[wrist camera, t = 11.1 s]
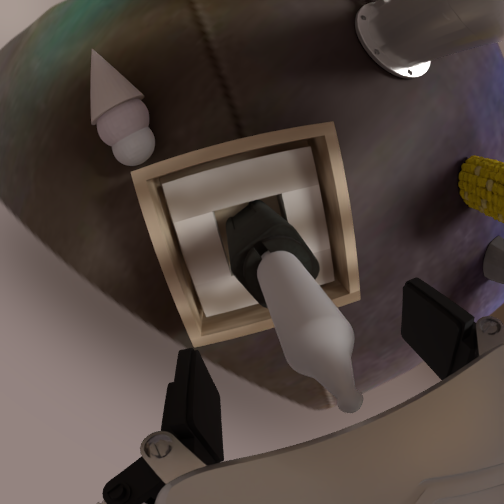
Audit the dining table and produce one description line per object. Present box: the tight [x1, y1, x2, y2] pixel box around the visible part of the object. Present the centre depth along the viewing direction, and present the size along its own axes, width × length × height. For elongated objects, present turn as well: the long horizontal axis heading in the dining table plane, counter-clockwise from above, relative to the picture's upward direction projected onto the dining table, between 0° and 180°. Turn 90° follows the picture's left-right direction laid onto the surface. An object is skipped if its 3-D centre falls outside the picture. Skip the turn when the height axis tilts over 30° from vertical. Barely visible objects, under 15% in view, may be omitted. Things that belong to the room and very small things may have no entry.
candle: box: [226, 199, 363, 413], centre depth 19 cm, size 5×5×25 cm
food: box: [458, 155, 504, 223], centre depth 27 cm, size 14×11×9 cm
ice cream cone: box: [90, 49, 155, 166], centre depth 22 cm, size 6×6×15 cm
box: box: [131, 122, 360, 348], centre depth 28 cm, size 19×19×6 cm
